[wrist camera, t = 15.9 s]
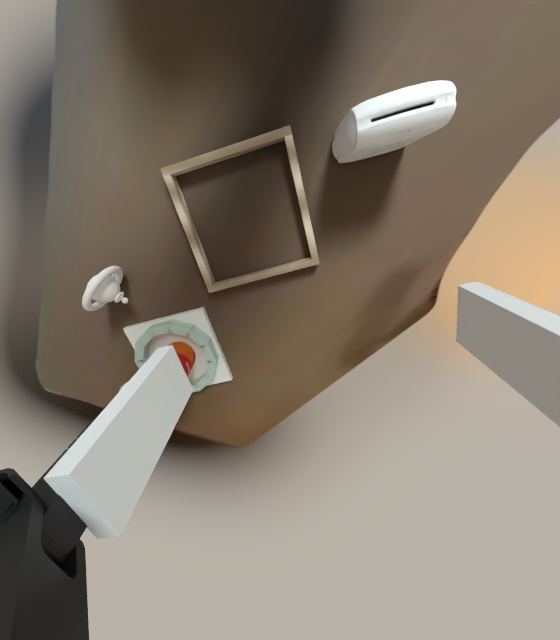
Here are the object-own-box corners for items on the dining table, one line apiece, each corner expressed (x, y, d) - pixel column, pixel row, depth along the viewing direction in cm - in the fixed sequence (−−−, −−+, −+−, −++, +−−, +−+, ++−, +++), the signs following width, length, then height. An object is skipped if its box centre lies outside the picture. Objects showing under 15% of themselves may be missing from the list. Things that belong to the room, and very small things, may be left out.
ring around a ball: (117, 255, 42) (81, 265, 35) (150, 275, 43) (122, 289, 36) (100, 294, 45) (64, 311, 38) (132, 312, 46) (102, 332, 39)
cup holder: (126, 326, 47) (116, 334, 45) (203, 306, 45) (198, 313, 43) (162, 392, 53) (155, 402, 50) (232, 377, 51) (229, 386, 48)
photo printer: (408, 109, 34) (469, 60, 23) (410, 147, 36) (467, 120, 24) (329, 131, 35) (349, 96, 24) (333, 167, 37) (354, 151, 25)
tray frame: (166, 170, 37) (160, 168, 36) (289, 129, 35) (290, 125, 33) (212, 289, 44) (209, 292, 42) (318, 261, 42) (319, 263, 40)
